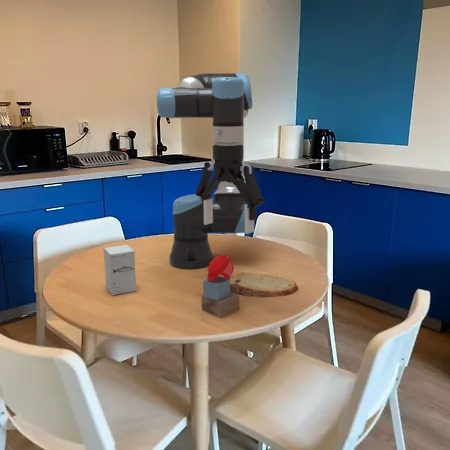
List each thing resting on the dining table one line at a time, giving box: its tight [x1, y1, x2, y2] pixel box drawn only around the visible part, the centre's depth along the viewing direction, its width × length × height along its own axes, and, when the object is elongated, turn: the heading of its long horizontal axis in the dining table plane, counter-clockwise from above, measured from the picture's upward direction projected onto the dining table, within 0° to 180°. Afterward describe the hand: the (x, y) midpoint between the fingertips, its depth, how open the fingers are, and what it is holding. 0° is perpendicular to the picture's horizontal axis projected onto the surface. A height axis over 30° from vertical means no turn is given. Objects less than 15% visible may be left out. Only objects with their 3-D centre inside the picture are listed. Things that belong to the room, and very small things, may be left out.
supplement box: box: [103, 244, 137, 296], centre depth 133 cm, size 7×7×13 cm
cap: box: [206, 254, 235, 282], centre depth 119 cm, size 8×6×6 cm
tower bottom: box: [201, 291, 240, 319], centre depth 121 cm, size 7×7×4 cm
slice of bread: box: [230, 271, 299, 298], centre depth 135 cm, size 18×18×4 cm
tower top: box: [202, 275, 231, 301], centre depth 119 cm, size 5×5×4 cm
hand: (228, 228), depth 116 cm, fingers open, 13 cm apart
